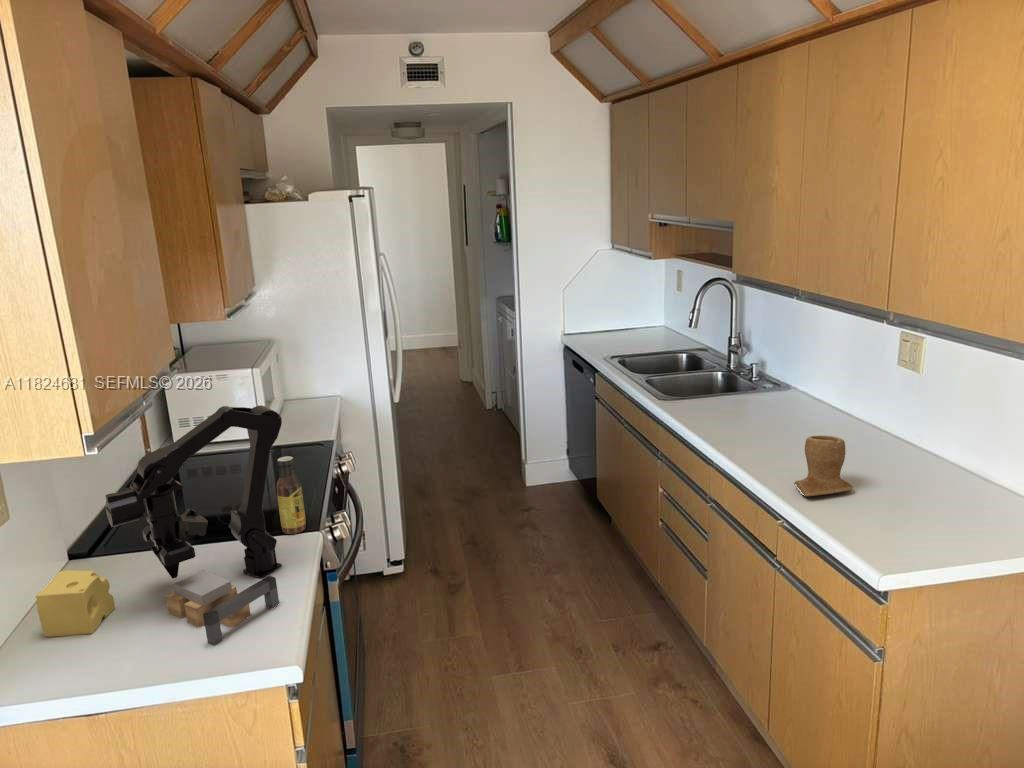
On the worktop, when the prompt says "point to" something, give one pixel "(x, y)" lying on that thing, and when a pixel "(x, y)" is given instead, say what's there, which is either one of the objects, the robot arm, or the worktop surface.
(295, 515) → the sauce bottle
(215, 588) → the slab
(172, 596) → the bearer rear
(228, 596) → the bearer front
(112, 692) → the worktop surface
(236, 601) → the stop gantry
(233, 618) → the block
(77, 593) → the cheese
